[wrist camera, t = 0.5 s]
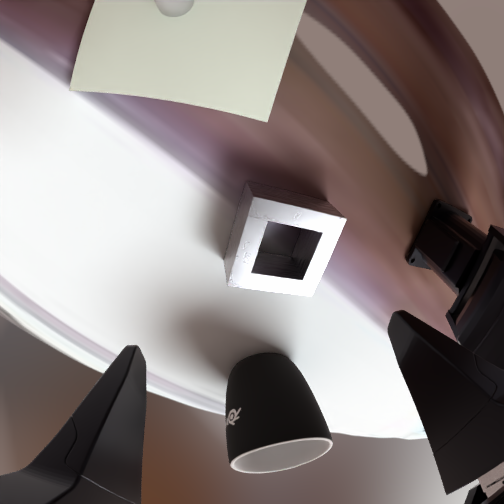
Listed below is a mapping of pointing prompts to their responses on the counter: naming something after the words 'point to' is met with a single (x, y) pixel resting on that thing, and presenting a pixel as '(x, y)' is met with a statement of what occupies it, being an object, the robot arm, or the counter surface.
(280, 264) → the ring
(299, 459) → the mug
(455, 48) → the counter surface
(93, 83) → the peg board
